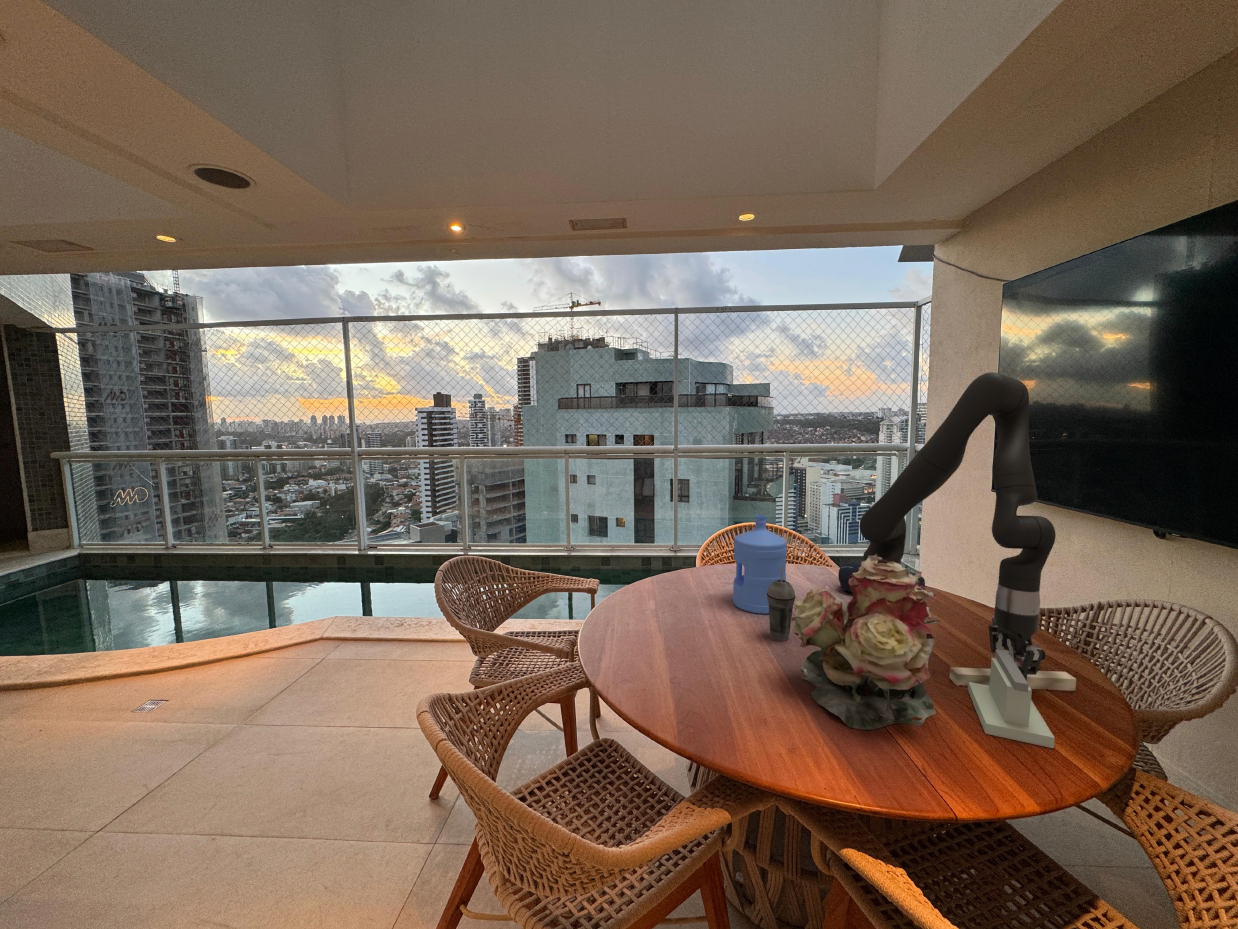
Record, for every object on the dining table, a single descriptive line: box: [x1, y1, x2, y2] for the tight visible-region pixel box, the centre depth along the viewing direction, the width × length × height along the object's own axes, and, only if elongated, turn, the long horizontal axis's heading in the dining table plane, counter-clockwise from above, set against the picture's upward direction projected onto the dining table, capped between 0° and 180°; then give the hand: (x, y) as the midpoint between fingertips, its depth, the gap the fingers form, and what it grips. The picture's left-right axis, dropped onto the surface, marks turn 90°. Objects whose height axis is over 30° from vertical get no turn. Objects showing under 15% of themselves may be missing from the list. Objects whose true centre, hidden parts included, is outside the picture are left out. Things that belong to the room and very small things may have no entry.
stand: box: [967, 650, 1056, 749], centre depth 98 cm, size 16×10×10 cm, turn 155°
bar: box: [949, 666, 1077, 692], centre depth 111 cm, size 24×3×3 cm, turn 85°
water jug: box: [732, 514, 788, 615], centre depth 155 cm, size 16×16×28 cm
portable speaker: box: [837, 561, 927, 594], centre depth 163 cm, size 25×10×10 cm, turn 51°
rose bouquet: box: [791, 554, 942, 731], centre depth 104 cm, size 26×29×30 cm
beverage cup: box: [767, 565, 796, 642], centre depth 133 cm, size 7×7×20 cm
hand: (1010, 682), depth 111 cm, fingers open, 4 cm apart
